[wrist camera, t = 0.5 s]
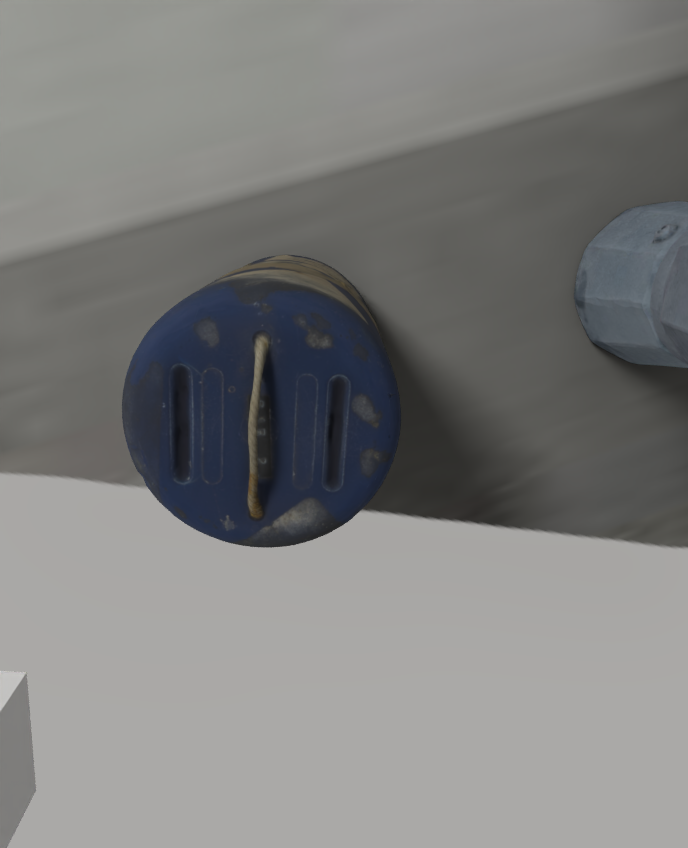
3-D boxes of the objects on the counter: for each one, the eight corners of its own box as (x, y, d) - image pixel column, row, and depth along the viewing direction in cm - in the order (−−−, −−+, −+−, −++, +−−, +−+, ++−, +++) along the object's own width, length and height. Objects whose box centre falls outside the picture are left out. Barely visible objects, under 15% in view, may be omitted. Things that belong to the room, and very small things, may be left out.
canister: (396, 285, 36) (460, 341, 19) (343, 437, 38) (356, 609, 21) (231, 229, 35) (138, 235, 18) (188, 389, 37) (71, 530, 20)
